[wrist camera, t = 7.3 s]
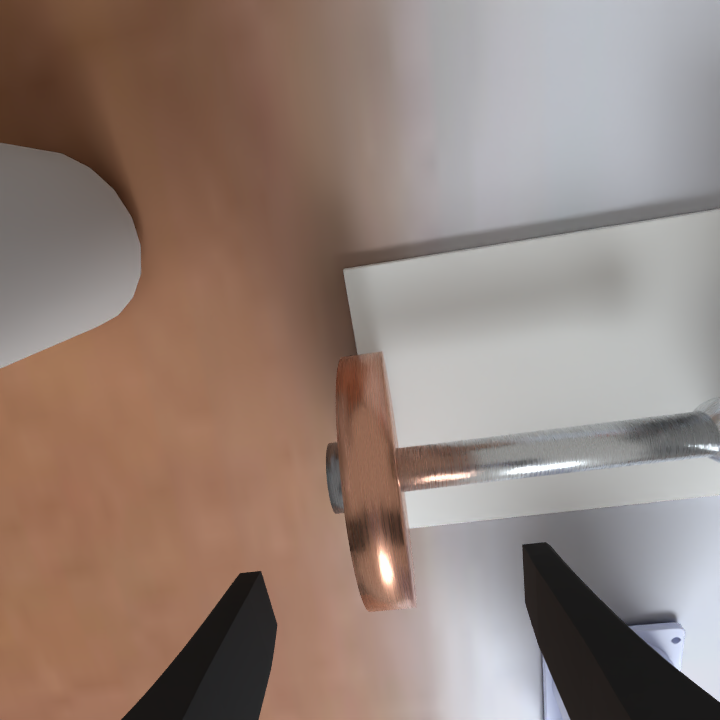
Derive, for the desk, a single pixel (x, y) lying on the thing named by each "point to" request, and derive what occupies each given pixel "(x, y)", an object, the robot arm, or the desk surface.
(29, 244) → the can
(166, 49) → the desk surface
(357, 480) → the bolt with copper washer
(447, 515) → the base board
